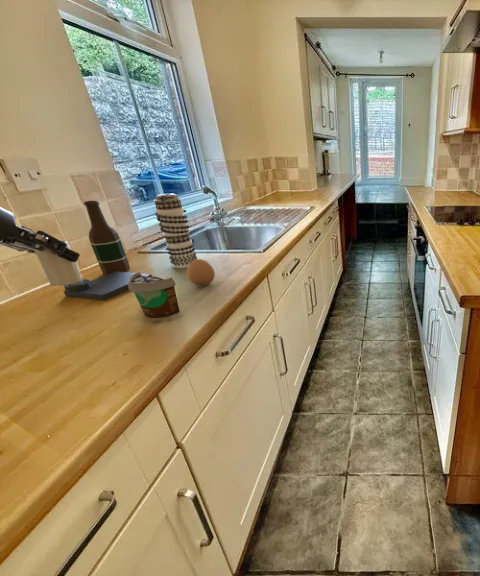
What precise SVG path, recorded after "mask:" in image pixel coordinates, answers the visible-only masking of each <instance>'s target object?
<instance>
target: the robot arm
mask: <svg viewBox="0 0 480 576" xmlns="http://www.w3.org/2000/svg"><path fill="white" fill-rule="evenodd" d="M60 240H61V239H58V238H56V237H55V236H53V235H50V234H49V233H46V231H43V230H38V229H37V231H34V230H33V229H32V228H29V227H26V226H24V225H20V226H18V225H17V223H16V217H15V215H14V213H13V212H11V211H9V210H7V209H5V208H3V207H1V206H0V245H2V246H4V247H7V248H10V249H13V250H15V251H17V252H22V253H23V252H26V253H27V254H35V255H36V253H35V251H37V252H43V251H44V252H47V253H50V254H53V255H55V256H59V257H61V258H64V259H66V260H68V261H71V262H76V263H77V262H78V260H79V258H80V256H81V255H80V253H79V252H77V251H74V250H73V249H71V248H70V249H71V250H70V249H68V248H66V246H67V244H66V243H64V242H62V241H60ZM36 245H39V248H37V247H35V246H36Z"/></svg>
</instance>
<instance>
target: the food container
mask: <svg viewBox="0 0 480 576" xmlns="http://www.w3.org/2000/svg"><path fill="white" fill-rule="evenodd" d="M135 273H136V274H134V275H132V276H131V277H130V278H129V281H128V288H129V290H128V291H131V292H133V294H134V297H135V298H136V300H137V302H138V304H139V306H140V308H141V311H142V313H143V315H144V317H145V318H147V319H162V318H167V317H171V316H174V315H177V314H179V313H180V312H181V310H180V306H179V302H178V297H177V293H176V288H175V286H176V285H177V284H176V282H175V279H174V278H173V276H172V277H169V278H165V279H164V278H161V277H159V276H152V277H147V276H141V272H135Z"/></svg>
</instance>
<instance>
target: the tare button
mask: <svg viewBox="0 0 480 576" xmlns="http://www.w3.org/2000/svg"><path fill="white" fill-rule="evenodd" d="M82 283H84V282H83V279H82V280H80V281H78V282H76V283H73V284H71V285H79V284H82Z"/></svg>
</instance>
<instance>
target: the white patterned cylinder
mask: <svg viewBox="0 0 480 576" xmlns="http://www.w3.org/2000/svg"><path fill="white" fill-rule="evenodd" d="M154 198H155V199H153V200H152V201H154V206H155V213H154V216H156V220H157V222H159V223H158V226H159V227H160V231H161V232H162V236H164V239H165V244H166V250H167V251H168V252H167V254H168V255H169V257H168V259H169V260H170V264H171V267H172V268H175V269H183V268H188V267H189V265H190V263H191V262H192V261H194V260H197V259H198V257H197V253H196V252H195V251H196V249H195V247H194V246H195V244H194V243H193V241H192V238H191V235H190V232H191V230H190V229H189V228H190V225H187V223H189V220H188V219H187V218H188V216H187V215H186V214H185V213H187V210H186V209H184V206H183V205H182V201H181V199H182V197H179V196H178V195H177V194H176V193H160V194H157V195H156V196H155V197H154Z"/></svg>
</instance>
